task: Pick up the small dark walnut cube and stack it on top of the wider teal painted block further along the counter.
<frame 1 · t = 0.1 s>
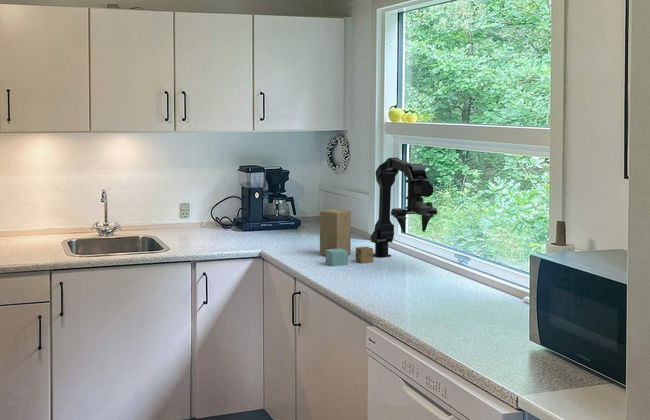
hand: (413, 232, 332), 15 cm above the worktop, fingers open, 9 cm apart
walnut cube: (364, 261, 346), on the worktop
wooden block: (335, 255, 361), on the worktop
teal block: (336, 264, 341), on the worktop
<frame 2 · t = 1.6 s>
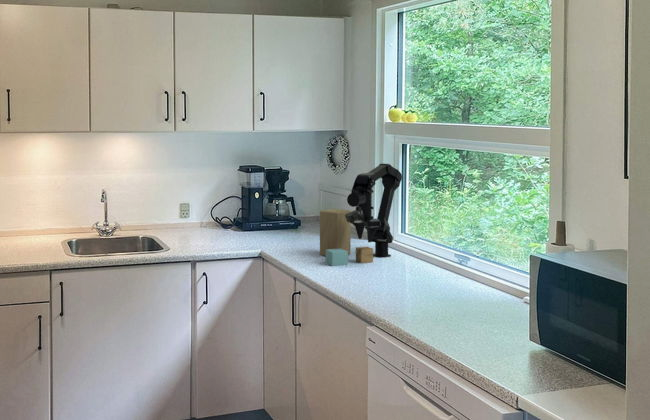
hand: (364, 240, 345), 9 cm above the worktop, fingers open, 9 cm apart
nothing on the worktop moved.
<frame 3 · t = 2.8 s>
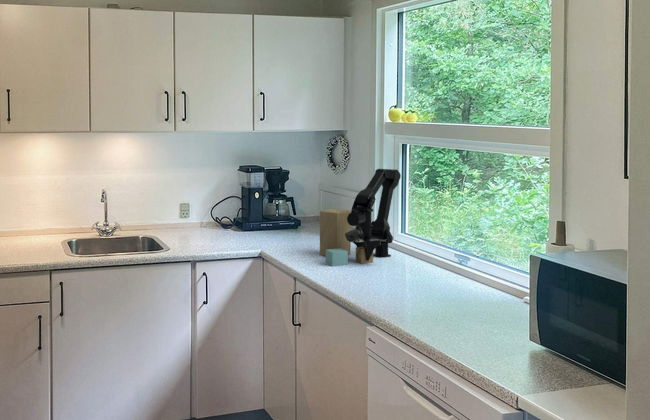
hand: (364, 259, 346), 1 cm above the worktop, fingers closed on walnut cube, 5 cm apart
walnut cube: (364, 261, 346), on the worktop, touching gripper
everything else where it was.
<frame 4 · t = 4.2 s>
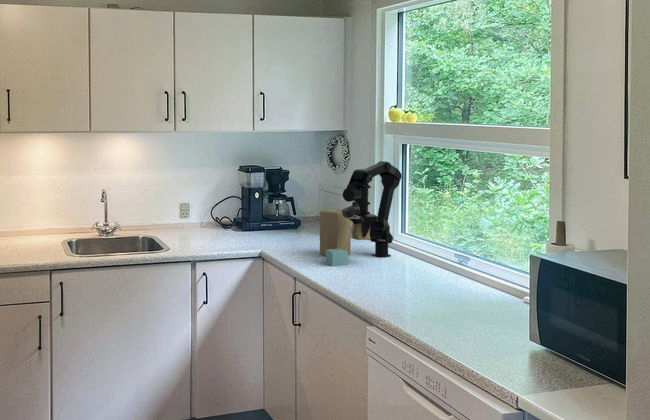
hand: (361, 236, 343), 11 cm above the worktop, fingers closed on walnut cube, 5 cm apart
walnut cube: (360, 238, 344), point 10 cm above the worktop, touching gripper
everything else where it was.
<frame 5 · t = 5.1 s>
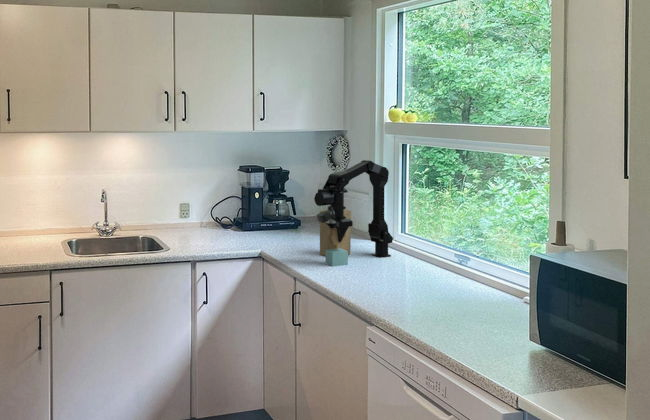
hand: (336, 240, 339), 10 cm above the worktop, fingers closed on walnut cube, 5 cm apart
walnut cube: (336, 243, 339), point 9 cm above the worktop, touching gripper
everything else where it was.
when the fingers open (8 cm above the worktop, at t = 5.7 s): walnut cube drops 1 cm, resting on teal block.
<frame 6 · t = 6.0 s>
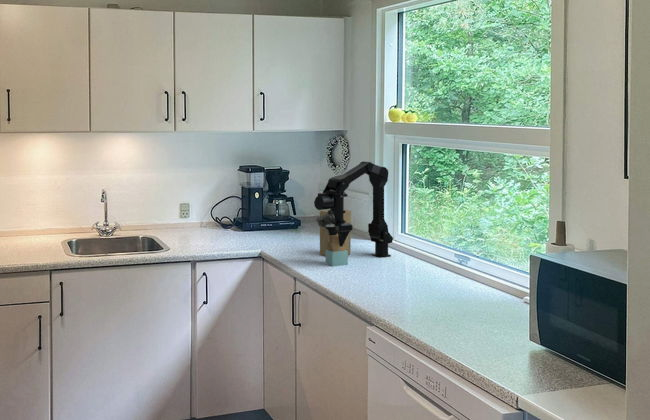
hand: (336, 244, 339), 8 cm above the worktop, fingers open, 8 cm apart
walnut cube: (336, 250, 340), point 6 cm above the worktop, touching teal block
teal block: (336, 264, 341), on the worktop, touching walnut cube
everything else where it was.
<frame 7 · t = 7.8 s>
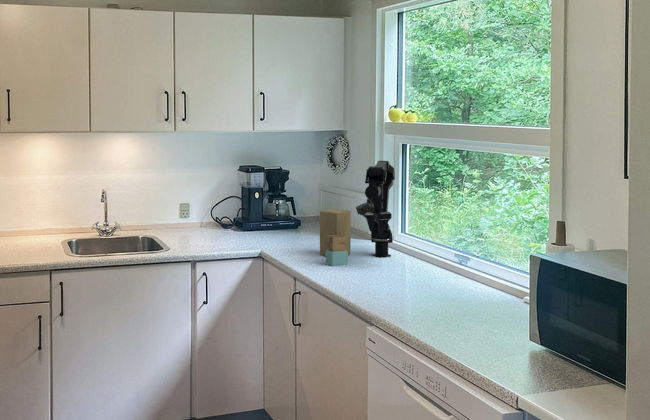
hand: (375, 233, 342), 13 cm above the worktop, fingers open, 9 cm apart
walnut cube: (336, 250, 340), point 6 cm above the worktop
teal block: (336, 264, 341), on the worktop
everything else where it was.
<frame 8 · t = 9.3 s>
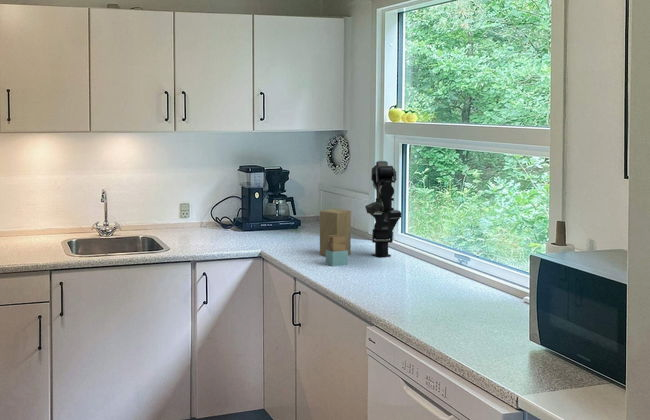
hand: (384, 232, 342), 13 cm above the worktop, fingers open, 9 cm apart
nothing on the worktop moved.
at the end: walnut cube 0.0 cm off-centre on the teal block, point 6.0 cm above the teal block's base; walnut cube tilted 0°; the gripper is holding nothing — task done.
